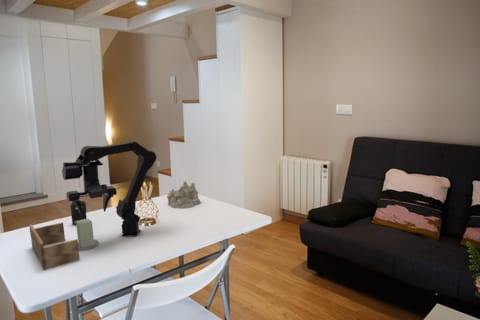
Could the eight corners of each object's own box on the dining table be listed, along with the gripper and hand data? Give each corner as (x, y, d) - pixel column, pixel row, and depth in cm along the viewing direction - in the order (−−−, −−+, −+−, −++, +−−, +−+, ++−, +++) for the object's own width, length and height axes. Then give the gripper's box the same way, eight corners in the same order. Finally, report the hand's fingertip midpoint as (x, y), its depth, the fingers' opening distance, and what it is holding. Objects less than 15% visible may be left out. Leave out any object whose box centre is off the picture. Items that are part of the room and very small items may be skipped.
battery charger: (73, 226, 177) (70, 203, 175) (71, 224, 180) (69, 201, 178) (88, 223, 181) (86, 200, 179) (86, 220, 184) (84, 198, 182)
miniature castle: (204, 202, 208) (201, 177, 206) (182, 211, 197) (178, 184, 194) (186, 199, 219) (183, 175, 216) (164, 207, 207) (160, 181, 204)
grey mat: (102, 240, 159) (102, 239, 159) (93, 250, 149) (92, 249, 149) (80, 240, 159) (79, 239, 159) (68, 250, 149) (68, 249, 149)
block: (90, 240, 157) (88, 218, 155) (94, 244, 153) (91, 221, 152) (78, 243, 154) (75, 221, 152) (81, 247, 150) (79, 224, 149)
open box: (64, 239, 160) (62, 218, 159) (79, 259, 141) (76, 234, 139) (32, 247, 153) (29, 224, 151) (43, 269, 133) (40, 243, 132)
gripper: (70, 183, 139) (73, 222, 142) (119, 177, 150) (121, 214, 153) (64, 178, 148) (67, 215, 151) (111, 173, 159) (113, 207, 162)
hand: (93, 213), depth 154 cm, fingers open, 9 cm apart
